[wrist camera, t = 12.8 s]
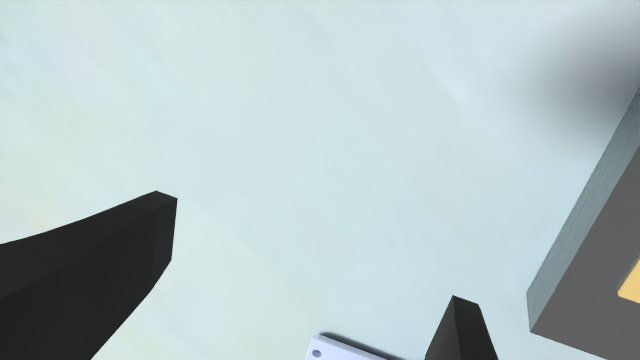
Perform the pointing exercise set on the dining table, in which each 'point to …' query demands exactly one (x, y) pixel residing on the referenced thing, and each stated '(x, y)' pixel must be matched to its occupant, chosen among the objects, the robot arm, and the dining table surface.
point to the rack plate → (597, 258)
